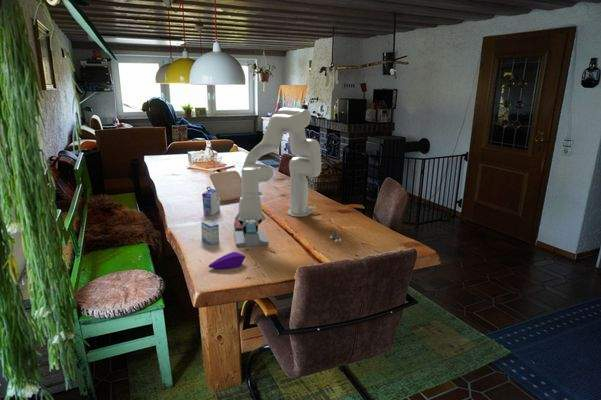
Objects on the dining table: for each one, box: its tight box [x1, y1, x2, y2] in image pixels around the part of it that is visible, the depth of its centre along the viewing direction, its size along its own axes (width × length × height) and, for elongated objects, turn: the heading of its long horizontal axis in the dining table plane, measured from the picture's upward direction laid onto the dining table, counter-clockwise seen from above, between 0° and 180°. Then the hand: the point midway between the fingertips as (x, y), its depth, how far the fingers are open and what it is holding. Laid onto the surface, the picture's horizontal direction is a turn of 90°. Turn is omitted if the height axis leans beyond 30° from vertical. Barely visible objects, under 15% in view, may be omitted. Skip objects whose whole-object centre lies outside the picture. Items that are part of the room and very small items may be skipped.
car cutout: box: [329, 230, 342, 243], centre depth 182 cm, size 15×7×4 cm, turn 26°
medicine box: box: [200, 220, 220, 245], centre depth 180 cm, size 8×4×9 cm, turn 45°
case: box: [209, 170, 242, 205], centre depth 245 cm, size 20×21×16 cm
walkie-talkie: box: [233, 220, 249, 231], centre depth 199 cm, size 9×4×20 cm
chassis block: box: [233, 229, 269, 248], centre depth 183 cm, size 14×15×5 cm
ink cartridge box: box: [201, 185, 221, 217], centre depth 217 cm, size 10×6×14 cm, turn 164°
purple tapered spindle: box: [208, 251, 246, 270], centre depth 156 cm, size 5×5×15 cm
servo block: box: [246, 220, 256, 234], centre depth 182 cm, size 4×10×8 cm, turn 13°
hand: (250, 233), depth 183 cm, fingers closed on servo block, 4 cm apart
